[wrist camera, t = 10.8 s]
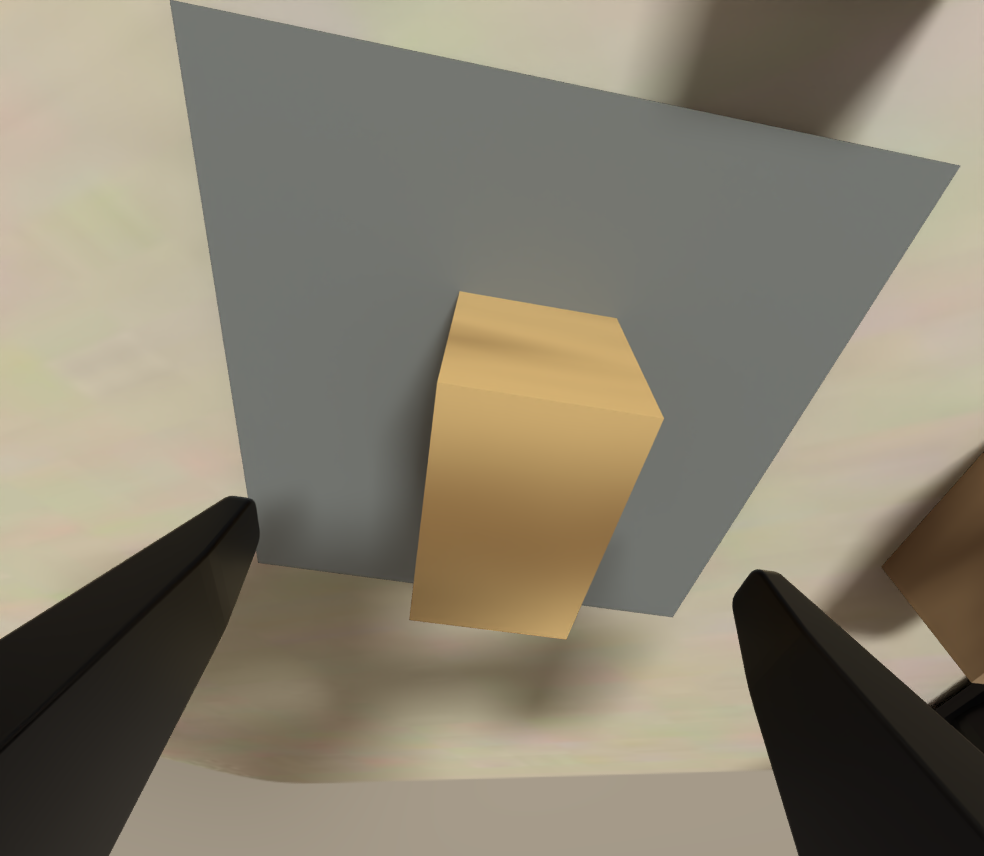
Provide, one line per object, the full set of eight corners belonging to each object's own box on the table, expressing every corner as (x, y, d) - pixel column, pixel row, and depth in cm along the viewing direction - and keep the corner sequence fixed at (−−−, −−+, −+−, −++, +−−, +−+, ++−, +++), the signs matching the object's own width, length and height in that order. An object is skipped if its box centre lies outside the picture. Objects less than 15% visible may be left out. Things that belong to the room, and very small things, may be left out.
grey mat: (666, 597, 18) (672, 617, 17) (268, 543, 16) (258, 562, 16) (929, 160, 10) (960, 165, 9) (196, 6, 9) (169, -1, 8)
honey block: (552, 511, 14) (566, 639, 11) (433, 495, 14) (409, 620, 11) (617, 318, 11) (664, 418, 7) (459, 291, 11) (437, 382, 7)
